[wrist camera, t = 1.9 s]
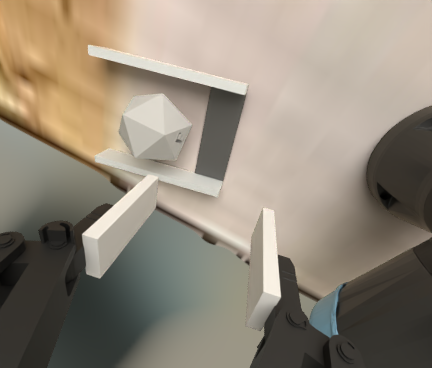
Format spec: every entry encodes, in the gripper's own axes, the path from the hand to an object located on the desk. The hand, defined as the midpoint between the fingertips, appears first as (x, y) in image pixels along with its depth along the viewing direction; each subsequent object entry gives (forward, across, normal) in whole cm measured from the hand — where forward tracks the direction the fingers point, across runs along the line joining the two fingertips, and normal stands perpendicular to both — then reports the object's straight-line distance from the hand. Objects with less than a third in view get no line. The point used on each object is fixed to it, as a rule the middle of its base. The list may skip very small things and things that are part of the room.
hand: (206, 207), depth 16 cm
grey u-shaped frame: (+17, +10, 0) cm, 20 cm away
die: (+17, +10, 0) cm, 20 cm away
